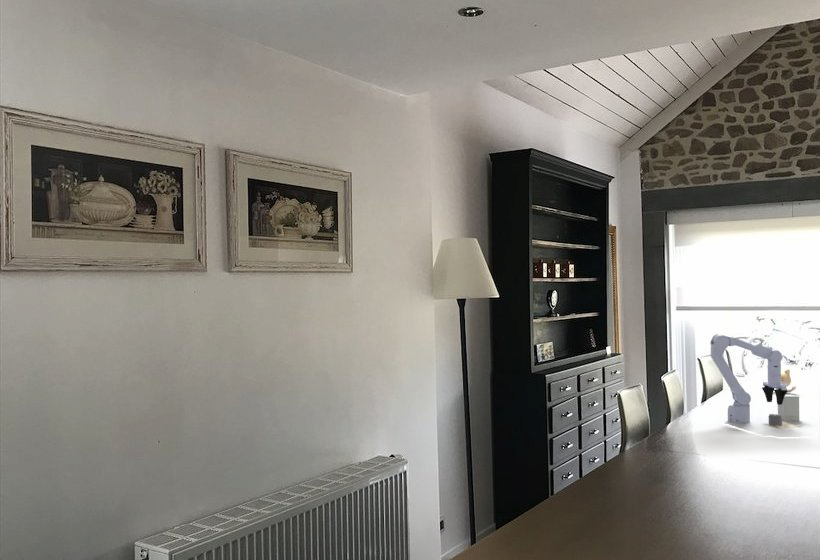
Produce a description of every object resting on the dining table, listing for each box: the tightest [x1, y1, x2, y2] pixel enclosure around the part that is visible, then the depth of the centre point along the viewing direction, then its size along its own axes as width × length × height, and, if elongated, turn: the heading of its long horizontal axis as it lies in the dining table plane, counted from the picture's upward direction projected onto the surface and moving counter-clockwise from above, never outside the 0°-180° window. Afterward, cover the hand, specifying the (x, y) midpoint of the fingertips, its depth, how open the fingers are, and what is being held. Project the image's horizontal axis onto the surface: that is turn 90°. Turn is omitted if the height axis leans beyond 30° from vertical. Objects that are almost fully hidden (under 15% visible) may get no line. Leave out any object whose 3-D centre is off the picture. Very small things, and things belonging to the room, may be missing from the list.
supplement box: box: [777, 394, 800, 422], centre depth 370 cm, size 7×7×13 cm
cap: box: [768, 413, 783, 426], centre depth 356 cm, size 5×5×4 cm
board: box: [764, 422, 802, 429], centre depth 354 cm, size 13×10×1 cm
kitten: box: [774, 368, 797, 393], centre depth 460 cm, size 15×10×15 cm
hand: (774, 403), depth 363 cm, fingers open, 7 cm apart
